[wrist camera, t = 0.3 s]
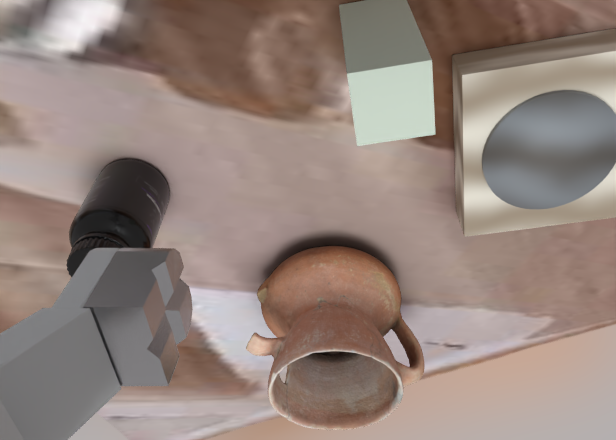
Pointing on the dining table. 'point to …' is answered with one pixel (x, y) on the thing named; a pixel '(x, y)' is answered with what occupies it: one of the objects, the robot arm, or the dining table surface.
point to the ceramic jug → (335, 339)
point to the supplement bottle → (119, 210)
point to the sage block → (387, 71)
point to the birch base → (535, 133)
